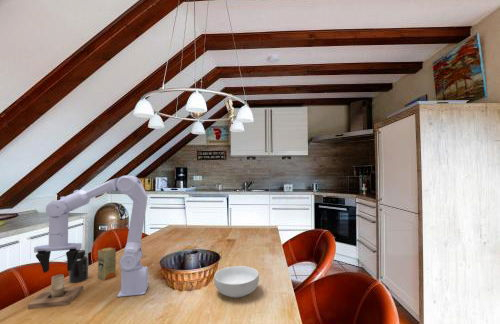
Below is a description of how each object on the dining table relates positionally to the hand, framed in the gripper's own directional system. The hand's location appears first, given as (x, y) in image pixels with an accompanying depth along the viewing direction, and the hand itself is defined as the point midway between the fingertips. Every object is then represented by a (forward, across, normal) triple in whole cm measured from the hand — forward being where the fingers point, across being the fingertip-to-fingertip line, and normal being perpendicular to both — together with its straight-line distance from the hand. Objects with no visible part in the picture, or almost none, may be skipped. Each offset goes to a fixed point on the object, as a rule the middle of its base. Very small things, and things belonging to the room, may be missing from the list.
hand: (58, 270), depth 94 cm
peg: (+10, 0, 0) cm, 10 cm away
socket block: (+10, 0, 0) cm, 10 cm away
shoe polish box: (+10, -11, -17) cm, 23 cm away
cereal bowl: (+10, -64, +10) cm, 66 cm away
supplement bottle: (+10, 0, -17) cm, 20 cm away
